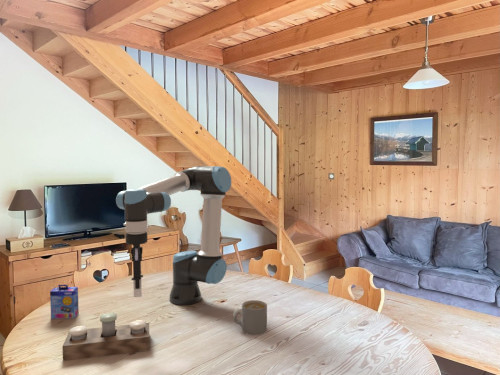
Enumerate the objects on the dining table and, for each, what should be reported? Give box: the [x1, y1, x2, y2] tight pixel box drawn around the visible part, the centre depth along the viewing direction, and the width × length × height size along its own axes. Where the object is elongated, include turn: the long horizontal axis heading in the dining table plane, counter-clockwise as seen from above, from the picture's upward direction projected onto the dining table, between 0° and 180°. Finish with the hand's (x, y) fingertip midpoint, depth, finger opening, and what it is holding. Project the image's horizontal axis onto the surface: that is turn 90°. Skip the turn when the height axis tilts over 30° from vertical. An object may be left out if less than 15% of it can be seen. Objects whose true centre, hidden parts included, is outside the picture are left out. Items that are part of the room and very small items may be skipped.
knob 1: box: [69, 325, 88, 341], centre depth 133 cm, size 6×6×7 cm
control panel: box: [61, 322, 150, 361], centre depth 136 cm, size 28×12×5 cm, turn 105°
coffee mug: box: [232, 299, 268, 336], centre depth 151 cm, size 13×10×10 cm
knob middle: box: [99, 312, 118, 337], centre depth 136 cm, size 6×6×7 cm
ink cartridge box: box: [49, 284, 80, 320], centre depth 162 cm, size 10×6×14 cm, turn 95°
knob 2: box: [129, 319, 147, 334], centre depth 138 cm, size 6×6×7 cm
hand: (137, 296), depth 138 cm, fingers closed
